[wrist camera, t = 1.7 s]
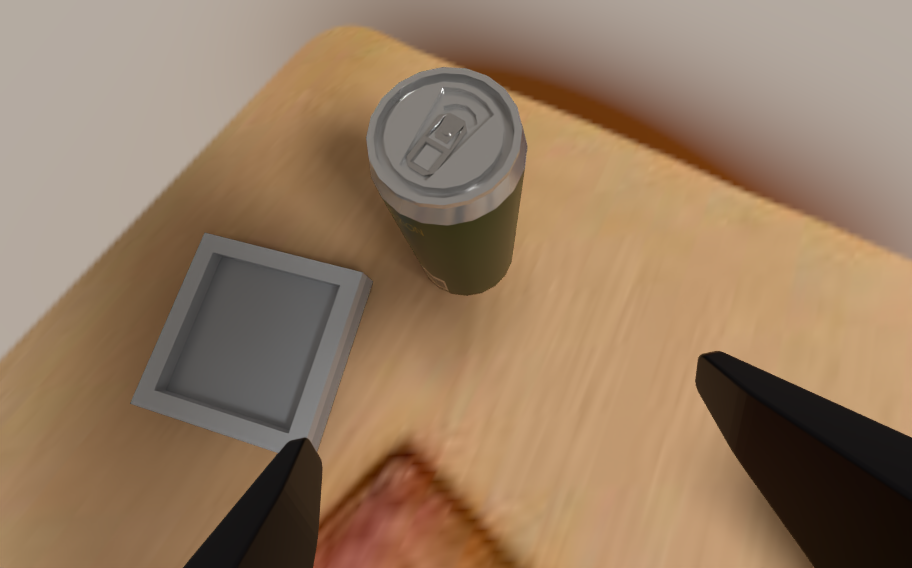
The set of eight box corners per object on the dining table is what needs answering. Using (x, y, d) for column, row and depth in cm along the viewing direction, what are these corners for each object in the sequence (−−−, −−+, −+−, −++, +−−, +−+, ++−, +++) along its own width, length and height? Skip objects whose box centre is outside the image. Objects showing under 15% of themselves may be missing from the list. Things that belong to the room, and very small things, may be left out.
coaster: (373, 281, 24) (362, 272, 23) (316, 453, 22) (299, 460, 20) (226, 244, 26) (204, 232, 24) (159, 402, 24) (130, 403, 22)
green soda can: (478, 316, 23) (463, 245, 12) (404, 266, 25) (325, 157, 13) (530, 242, 24) (563, 108, 13) (456, 196, 25) (424, 36, 14)
